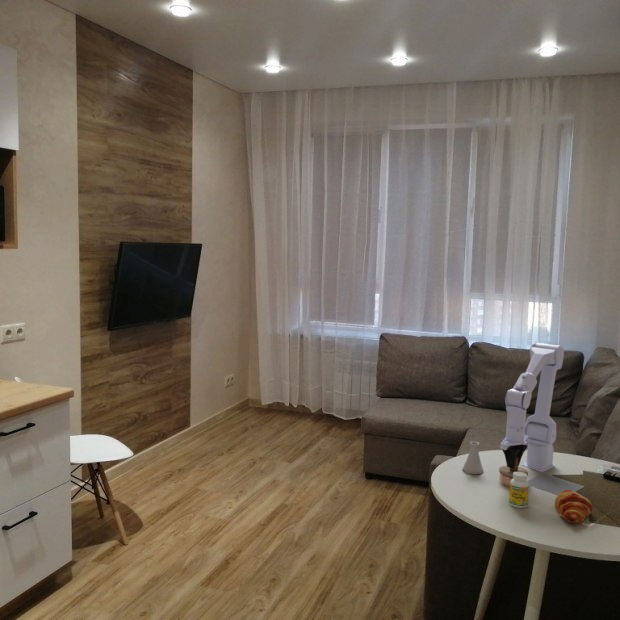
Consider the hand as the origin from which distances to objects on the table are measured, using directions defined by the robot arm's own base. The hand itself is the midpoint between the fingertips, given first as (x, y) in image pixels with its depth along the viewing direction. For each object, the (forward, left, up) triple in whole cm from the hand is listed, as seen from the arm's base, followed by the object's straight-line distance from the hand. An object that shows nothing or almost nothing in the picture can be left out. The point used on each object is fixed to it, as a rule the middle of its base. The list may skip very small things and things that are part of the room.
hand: (512, 466), depth 200 cm
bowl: (0, 0, -6) cm, 6 cm away
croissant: (+6, +23, -6) cm, 25 cm away
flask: (+1, -14, -6) cm, 15 cm away
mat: (-9, +10, -6) cm, 15 cm away
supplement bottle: (+14, +10, -6) cm, 18 cm away
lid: (0, 0, -2) cm, 2 cm away
